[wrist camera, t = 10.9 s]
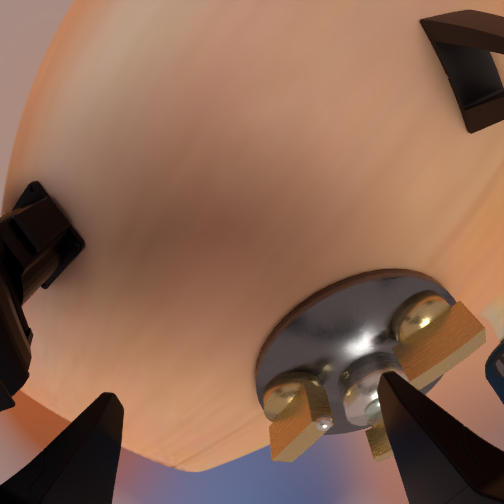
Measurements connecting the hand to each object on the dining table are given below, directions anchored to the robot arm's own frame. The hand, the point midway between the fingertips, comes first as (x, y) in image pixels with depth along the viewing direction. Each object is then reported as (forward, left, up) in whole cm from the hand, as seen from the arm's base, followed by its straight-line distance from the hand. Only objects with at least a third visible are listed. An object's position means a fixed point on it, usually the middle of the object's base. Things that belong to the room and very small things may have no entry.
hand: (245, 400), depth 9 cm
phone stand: (+22, +2, -12) cm, 25 cm away
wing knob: (-4, -12, -10) cm, 17 cm away
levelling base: (+2, -16, -12) cm, 20 cm away
